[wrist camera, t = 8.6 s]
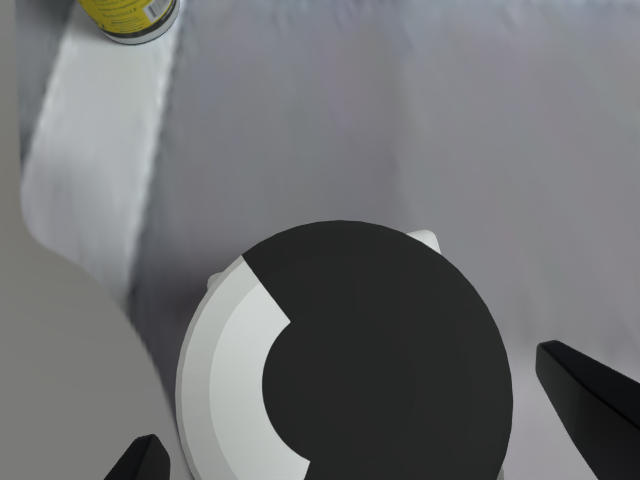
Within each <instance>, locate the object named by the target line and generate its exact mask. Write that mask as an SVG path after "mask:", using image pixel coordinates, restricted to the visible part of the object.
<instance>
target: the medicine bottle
mask: <svg viewBox="0 0 640 480" xmlns="http://www.w3.org/2000/svg"><path fill="white" fill-rule="evenodd" d="M207 288H208V292H207V293H206V295H205V296H204V298H203V299H202V301H201V302H200V304H199V305H198V308H197V310H196V312H195V314H194V316H193V318H192V320H191V322H190V324H189V326H188V329H187V332H186V335H185V338H184V341H183V344H182V347H181V352H180V357H179V362H178V367H177V374H176V389H175V402H176V419H177V424H178V430H179V435H180V440H181V445H182V448H183V451H184V454H185V457H186V460H187V463H188V466H189V468H190V470H191V472H192V474H193V477H194V479H195V480H504V471H503V468H502V464H503V461H504V458H505V456H506V452H507V447H508V442H509V438H510V433H511V427H512V412H513V393H512V379H511V373H510V368H509V363H508V358H507V353H506V350H505V347H504V344H503V341H502V338H501V335H500V333H499V330H498V327H497V325H496V323H495V321H494V319H493V317H492V315H491V313H490V312H489V310H488V308H487V306H486V304H485V303H484V301H483V300H482V298H481V297H480V296H479V294H478V293H477V291H476V290H475V288H474V287H473V286H472V285H471V283H470V282H469V281H468V280H467V279H466V278H465V277H464V276H463V274H462V273H461V272H460V271H459V270H458V269H457V268H456V267H455V266H454V265H452V264H451V263H450V262H449V261H448V260H447V259H445V258H444V257H443V256H442V255H441V253H440V249H439V246H438V242H437V239H436V237H435V235H434V233H432V232H431V231H429V230H420V231H415V232H410V233H406V234H404V233H402V232H400V231H397V230H394V229H391V228H388V227H385V226H381V225H376V224H371V223H366V222H361V221H343V220H336V221H323V222H315V223H311V224H306V225H301V226H297V227H294V228H291V229H288V230H286V231H283V232H280V233H277V234H275V235H273V236H272V237H270V238H268V239H266V240H264V241H262V242H260V243H258V244H257V245H255V246H254V247H252V248H251V249H249V250H248V251H247V252H245V253H244V254H242V255H241V256H240V257H239V258H238V259H236V260H235V261H234V262H233V263H232V264H231V265H230V266H229V267H228V268H226V269H225V270H224V272H220V273H216V274H214V275H212V276H211V277H210V278H209V280H208V284H207Z"/></svg>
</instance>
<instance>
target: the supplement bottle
mask: <svg viewBox="0 0 640 480" xmlns="http://www.w3.org/2000/svg"><path fill="white" fill-rule="evenodd" d="M77 1H78V2H79V3H80V5H81V6H82V7H83V8H84V10H85V11H86V12H87V14H88V15H89V16H90V17H91V19H92V20H93V21H94V23H95V24H96V25H97V26H98V27H99V28H100V30H101V31H102V32H103V33H104V34H105V35H107V36H108V37H109V38H111V39H113V40H115V41H117V42H120V43H125V44H137V43H143V42H146V41H149V40H152V39H154V38H156V37H158V36H160V35H161V34H163V33H164V32H165V31H166V30H167V29H168V28H169V27H170V26H171V25H172V23H173V22H174V20H175V19H176V17H177V14H178V11H179V5H180V0H77Z"/></svg>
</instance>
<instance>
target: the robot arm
mask: <svg viewBox="0 0 640 480" xmlns="http://www.w3.org/2000/svg"><path fill="white" fill-rule="evenodd" d="M535 369H536V374H537V377H538V379H539V381H540V383H541V385H542V387H543V388H544V390H545V392H546V394H547V396H548V398H549V399H550V401H551V403H552V405H553V407H554V409H555V411H556V412H557V414H558V416H559V418H560V420H561V422H562V423H563V425H564V427H565V429H566V431H567V433H568V434H569V436H570V438H571V439H572V441H573V443H574V444H575V446H576V447H577V449H578V451H579V452H580V454H581V455H582V457H583V458H584V459H585V461H586V462H587V464H588V465H589V467H590V468H591V470H592V471H593V473H594V474H595V476H596V477H597V479H598V480H640V383H638V382H636V381H635V380H633V379H631V378H629V377H627V376H625V375H623V374H621V373H619V372H617V371H615V370H613V369H612V368H610V367H608V366H606V365H604V364H602V363H600V362H598V361H596V360H594V359H592V358H591V357H589V356H587V355H585V354H583V353H581V352H579V351H577V350H575V349H573V348H571V347H569V346H568V345H566V344H564V343H562V342H560V341H557V340H551V341H547V342H543V343H540V344H538V346H537V349H536V366H535ZM169 477H170V458H169V455H168V453H167V451H166V450H165V448H164V446H163V445H162V443H161V442H160V440H159V438H158V437H157V436H156V435H154V434H150V435H146V436H142V437H138V438H137V439H135V440H134V441H133V442H132V444H131V445H130V446H129V448H128V449H127V451H126V452H125V453H124V454H123V455H122V457H121V458H120V459H119V460H118V462H117V463H116V465H115V466H114V467H113V468H112V470H111V471H110V472H109V473H108V475H107V476H106V477H105V479H104V480H169V479H170V478H169Z"/></svg>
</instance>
